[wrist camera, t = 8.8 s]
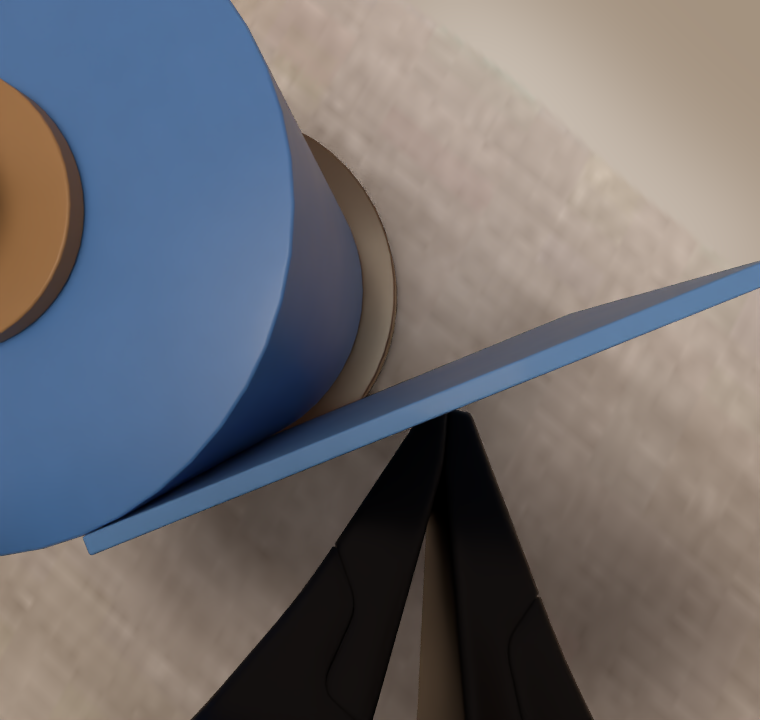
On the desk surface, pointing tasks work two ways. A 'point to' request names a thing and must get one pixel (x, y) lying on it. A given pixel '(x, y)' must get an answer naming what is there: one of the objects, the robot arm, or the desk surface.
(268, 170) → the towel roll
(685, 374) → the desk surface
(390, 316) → the holder
